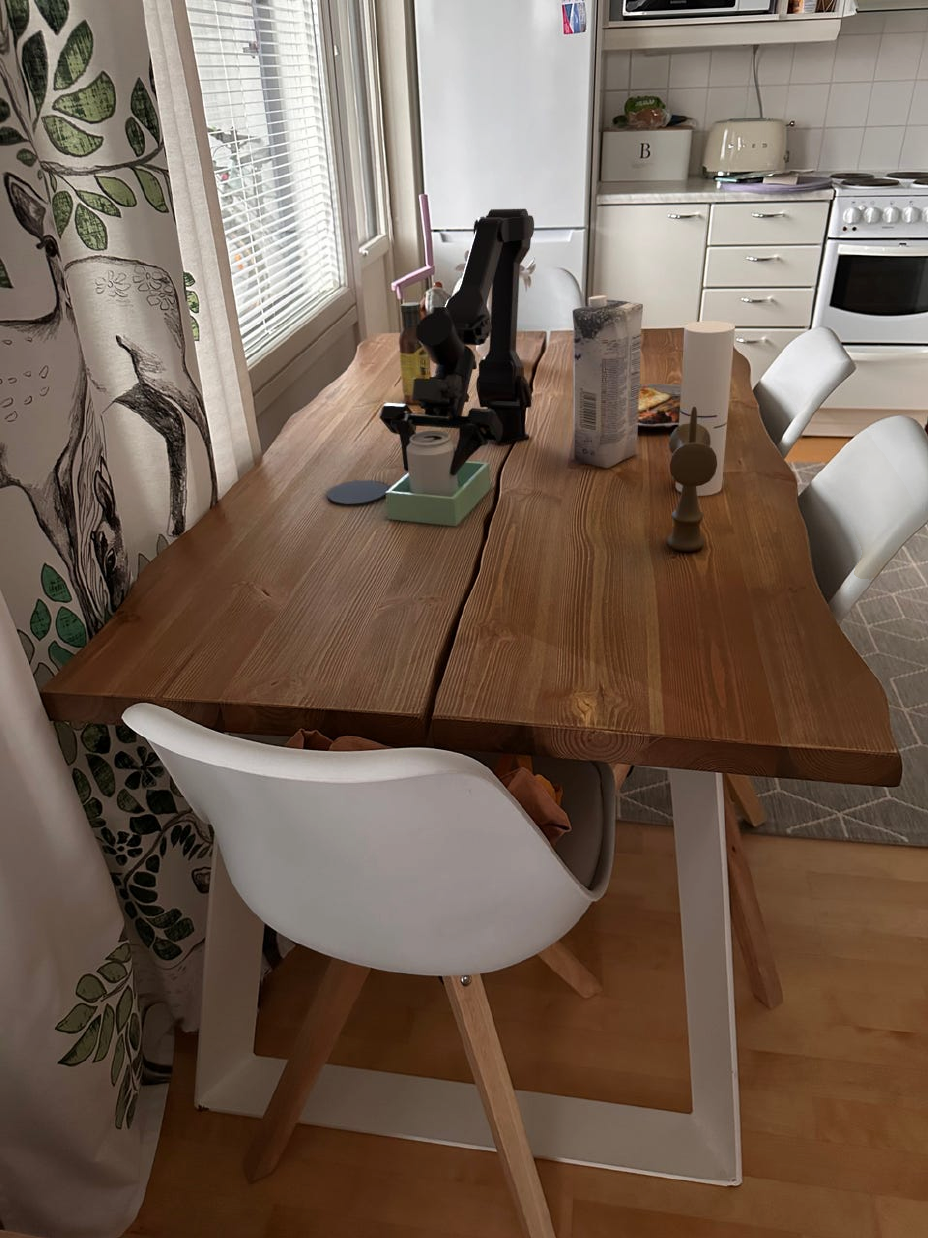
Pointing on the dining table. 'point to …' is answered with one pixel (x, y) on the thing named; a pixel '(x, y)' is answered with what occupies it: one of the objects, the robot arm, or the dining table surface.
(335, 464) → the dining table surface
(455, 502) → the green open box
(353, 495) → the coaster
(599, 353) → the juice carton
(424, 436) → the can
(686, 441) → the kendama
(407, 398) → the sauce bottle
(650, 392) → the food plate
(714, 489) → the cylindrical container
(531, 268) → the flower vase
